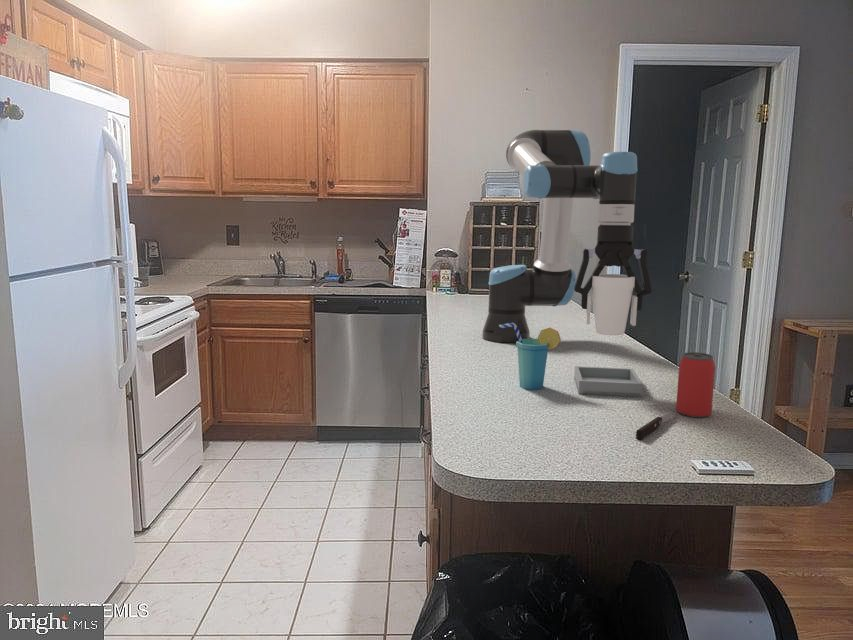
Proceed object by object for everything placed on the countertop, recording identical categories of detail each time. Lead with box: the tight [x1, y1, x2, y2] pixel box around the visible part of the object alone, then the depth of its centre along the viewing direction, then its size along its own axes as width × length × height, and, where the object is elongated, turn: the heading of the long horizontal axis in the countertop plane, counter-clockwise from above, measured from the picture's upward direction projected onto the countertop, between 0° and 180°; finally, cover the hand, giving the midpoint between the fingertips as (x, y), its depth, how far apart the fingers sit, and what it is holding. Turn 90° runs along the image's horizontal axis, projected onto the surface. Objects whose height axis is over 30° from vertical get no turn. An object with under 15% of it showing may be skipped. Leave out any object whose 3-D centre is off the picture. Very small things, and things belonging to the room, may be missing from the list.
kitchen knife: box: [635, 410, 674, 441], centre depth 115 cm, size 18×1×2 cm, turn 140°
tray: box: [573, 365, 644, 398], centre depth 142 cm, size 14×14×3 cm
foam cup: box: [591, 273, 636, 336], centre depth 139 cm, size 10×9×13 cm
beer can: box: [675, 351, 716, 418], centre depth 123 cm, size 7×7×12 cm
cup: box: [499, 323, 562, 391], centre depth 141 cm, size 14×8×15 cm, turn 87°
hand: (610, 323), depth 140 cm, fingers closed on foam cup, 9 cm apart
